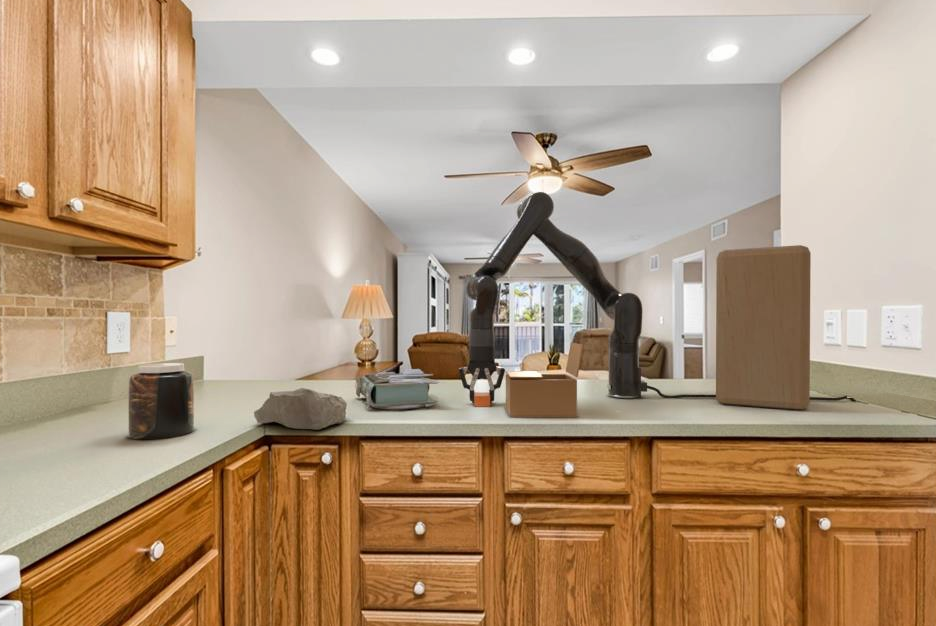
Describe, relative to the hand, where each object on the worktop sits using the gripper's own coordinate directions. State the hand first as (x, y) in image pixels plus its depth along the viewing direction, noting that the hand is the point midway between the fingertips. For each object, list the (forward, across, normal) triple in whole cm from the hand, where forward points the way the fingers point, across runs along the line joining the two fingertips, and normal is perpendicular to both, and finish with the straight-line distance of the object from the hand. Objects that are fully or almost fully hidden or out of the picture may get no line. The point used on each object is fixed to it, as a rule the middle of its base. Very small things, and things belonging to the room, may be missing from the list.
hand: (481, 402), depth 141 cm
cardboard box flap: (-14, -24, +12) cm, 30 cm away
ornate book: (+1, +25, -3) cm, 25 cm away
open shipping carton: (+1, -15, +12) cm, 19 cm away
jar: (+1, +71, +36) cm, 80 cm away
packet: (+1, 0, 0) cm, 1 cm away
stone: (+1, +44, +26) cm, 51 cm away
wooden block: (+1, -83, -3) cm, 83 cm away
